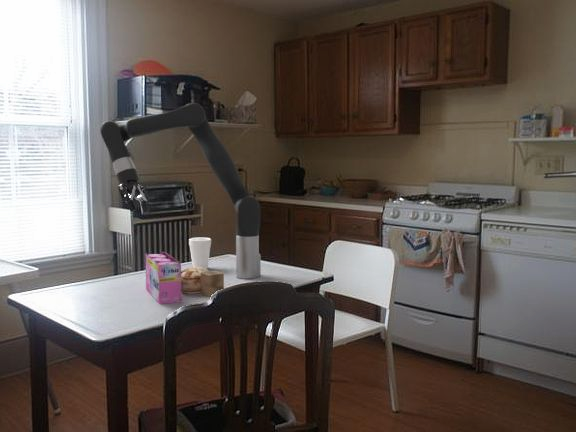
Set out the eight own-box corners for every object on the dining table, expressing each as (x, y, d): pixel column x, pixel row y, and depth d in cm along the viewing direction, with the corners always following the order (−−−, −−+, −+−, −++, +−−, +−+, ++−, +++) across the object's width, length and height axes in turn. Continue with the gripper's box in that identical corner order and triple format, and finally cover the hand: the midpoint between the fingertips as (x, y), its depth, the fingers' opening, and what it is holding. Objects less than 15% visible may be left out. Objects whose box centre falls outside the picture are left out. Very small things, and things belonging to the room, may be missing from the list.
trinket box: (209, 282, 212) (208, 263, 211) (217, 292, 198) (217, 271, 197) (174, 285, 207) (174, 265, 207) (180, 295, 193) (180, 273, 193)
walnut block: (215, 291, 199) (215, 270, 198) (223, 295, 194) (223, 273, 193) (201, 294, 195) (200, 272, 194) (208, 297, 190) (208, 275, 189)
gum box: (144, 288, 203) (143, 252, 201) (165, 286, 206) (164, 251, 205) (159, 304, 182) (158, 264, 180) (182, 301, 185) (181, 262, 183)
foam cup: (209, 270, 233) (208, 241, 231) (187, 270, 233) (187, 240, 231) (212, 266, 242) (212, 237, 241) (191, 265, 242) (191, 237, 241)
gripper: (122, 165, 195) (137, 206, 192) (144, 169, 208) (158, 208, 206) (106, 174, 197) (120, 215, 194) (129, 177, 210) (143, 216, 208)
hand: (140, 211), depth 200 cm, fingers open, 8 cm apart
